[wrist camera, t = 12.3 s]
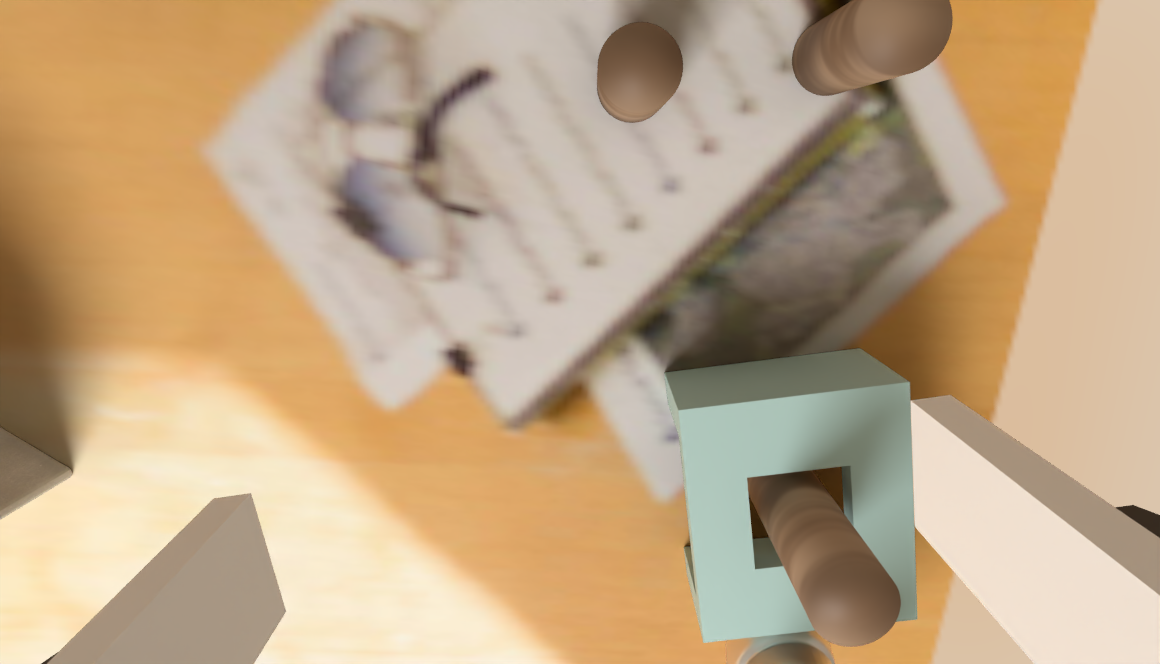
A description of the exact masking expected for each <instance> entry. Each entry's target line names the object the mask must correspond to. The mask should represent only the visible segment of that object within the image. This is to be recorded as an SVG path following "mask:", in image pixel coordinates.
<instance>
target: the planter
mask: <svg viewBox="0 0 1160 664" xmlns="http://www.w3.org/2000/svg"><path fill="white" fill-rule="evenodd" d="M71 475H72V471H71V469H70V468H69V467H67V466H65V465H64V464H62V463H60V462H58V461H56V460H55V459H53V458H51V457H50V456H48V455H46V454H45V453H43V452H41V451H40V450H38V449H36V448H35V447H33V446H31V445H30V444H28V443H26V442H24V441H23V440H21V439H19V438H18V437H16V436H14V435H13V434H11V433H9V432H8V431H6V430H4V429H3V428H1V427H0V520H1V519H2V518H4V517H5V516H7V515H9V514H10V513H12V512H14V511H15V510H17V509H19V508H20V507H22V506H24V505H25V504H27V503H29V502H30V501H32V500H34V499H35V498H37V497H39V496H40V495H42V494H43V493H45V492H47V491H48V490H50V489H52V488H53V487H55V486H57V485H58V484H60V483H62V482H63V481H65V480H67V479H68V478H70V477H71Z"/></svg>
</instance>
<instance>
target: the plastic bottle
mask: <svg viewBox="0 0 1160 664" xmlns="http://www.w3.org/2000/svg"><path fill="white" fill-rule="evenodd" d="M726 664H835V661H834V657H833V653H832V650H831V646H830V643H829V641H827V640H825V639H824V638H822V637H821V636H820V635H819V634H818V633H817V632H816V631H806V632H797V633H788V634H779V635H770V636H760V637H751V638H742V639H733V640H726Z"/></svg>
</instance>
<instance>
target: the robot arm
mask: <svg viewBox="0 0 1160 664" xmlns="http://www.w3.org/2000/svg"><path fill="white" fill-rule="evenodd" d="M911 428H912V457H913V487H914V517H915V527H916V529H917V530H918V531H919V532H920V533H921V534H922V535H923V537H924V538H925V539H926V540H927V541H928V542H929V543H930V545H931V546H932V547H933V548H934V549H935V550H936V551H937V553H938V554H939V555H940V556H941V557H942V558H943V559H944V561H945V562H946V563H947V564H948V565H949V566H950V567H951V569H952V570H953V571H954V572H955V573H956V574H957V576H958V577H959V578H960V579H961V580H962V581H963V582H964V584H965V585H966V586H967V587H968V588H969V589H970V590H971V591H972V593H973V594H974V595H975V596H976V597H977V598H978V599H979V601H980V602H981V603H982V604H983V605H984V606H985V608H986V609H987V610H988V611H989V612H990V613H991V614H992V616H993V617H994V618H995V619H996V620H997V621H998V622H999V623H1000V625H1001V626H1002V627H1003V628H1004V629H1005V630H1006V632H1007V633H1008V634H1009V635H1010V636H1011V637H1012V638H1013V640H1014V641H1015V642H1016V643H1017V644H1018V645H1019V647H1020V648H1021V649H1022V650H1023V651H1024V652H1025V653H1026V655H1027V656H1028V657H1029V658H1030V659H1031V660H1032V661H1033V663H1034V664H1160V515H1158V514H1155V513H1152V512H1150V511H1147V510H1145V509H1142V508H1139V507H1137V506H1134V505H1131V506H1123V507H1116V508H1115V507H1113V506H1112V505H1111V504H1109V503H1108V502H1106V501H1105V500H1103V499H1102V498H1100V497H1099V496H1097V495H1096V494H1095V493H1093V492H1092V491H1090V490H1089V489H1087V488H1086V487H1084V486H1083V485H1081V484H1080V483H1078V482H1077V481H1076V480H1074V479H1073V478H1071V477H1070V476H1068V475H1067V474H1065V473H1064V472H1062V471H1061V470H1059V469H1058V468H1057V467H1055V466H1054V465H1052V464H1051V463H1049V462H1048V461H1046V460H1045V459H1043V458H1042V457H1040V456H1039V455H1038V454H1036V453H1035V452H1033V451H1032V450H1030V449H1029V448H1027V447H1026V446H1024V445H1023V444H1021V443H1020V442H1019V441H1017V440H1016V439H1014V438H1013V437H1011V436H1010V435H1008V434H1007V433H1005V432H1004V431H1002V430H1001V429H999V428H998V427H997V426H995V425H994V424H992V423H991V422H989V421H988V420H986V419H985V418H984V417H982V416H981V415H979V414H978V413H976V412H975V411H973V410H972V409H970V408H969V407H967V406H966V405H965V404H963V403H962V402H960V401H959V400H957V399H956V398H954V397H953V396H951V395H946V396H939V397H932V398H924V399H917V400H911ZM285 612H286V610H285V607H284V603H283V600H282V597H281V593H280V590H279V586H278V583H277V580H276V576H275V573H274V570H273V566H272V563H271V559H270V556H269V553H268V549H267V546H266V543H265V539H264V536H263V532H262V529H261V526H260V522H259V519H258V516H257V512H256V509H255V505H254V502H253V499H252V495H251V493H250V494H243V495H236V496H229V497H222V498H215V499H213V500H212V501H211V502H210V503H209V504H208V505H207V506H206V507H205V508H204V509H203V510H202V511H201V512H200V513H199V514H198V515H197V516H196V517H195V518H194V519H193V520H192V521H191V522H190V523H189V524H188V525H187V526H186V527H185V528H184V529H183V530H182V531H181V532H180V533H178V534H177V535H176V536H175V537H174V538H173V539H172V540H171V541H170V542H169V543H168V544H167V545H166V546H165V547H164V548H163V549H162V550H161V551H160V552H159V553H158V554H157V555H156V556H155V557H154V558H153V559H152V560H151V561H150V562H149V563H148V564H147V565H146V566H145V567H144V568H143V569H142V570H141V571H140V572H139V573H138V574H137V575H136V576H135V577H134V578H133V579H132V580H131V581H130V582H129V583H128V584H127V585H126V586H125V587H124V588H123V589H122V590H121V591H120V592H119V593H118V594H117V595H116V596H115V597H114V598H113V599H112V600H111V601H110V602H109V603H108V604H107V605H106V606H105V607H104V608H103V609H102V610H101V611H100V612H99V613H98V614H97V615H96V616H95V617H94V618H93V619H92V620H91V621H90V622H89V623H87V624H86V625H85V626H84V627H83V628H82V629H81V630H80V631H79V632H78V633H77V634H76V635H75V636H74V637H73V638H72V639H71V640H70V641H69V642H68V643H67V644H66V645H65V646H64V647H63V648H62V649H61V650H60V651H59V652H58V653H56V654H55V655H53V656H52V657H50V658H49V659H47V660H46V661H45V662H43V663H42V664H254V662H255V661H256V659H257V657H258V656H259V654H260V653H261V651H262V649H263V648H264V646H265V644H266V643H267V641H268V640H269V638H270V636H271V635H272V633H273V632H274V630H275V628H276V627H277V625H278V623H279V622H280V620H281V619H282V617H283V615H284V614H285Z"/></svg>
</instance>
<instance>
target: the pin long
mask: <svg viewBox="0 0 1160 664" xmlns="http://www.w3.org/2000/svg"><path fill="white" fill-rule="evenodd" d="M747 483H748V494H749V496H750V499H751V501H752V503H753V505H754V507H755V509H756V511H757V513H758V515H759V517H760V519H761V521H762V523H763V525H764V527H765V529H766V532H767V534H768V536H769V538H770V540H771V542H772V544H773V546H774V548H775V550H776V552H777V554H778V556H779V558H780V560H781V562H782V564H783V567H784V569H785V571H786V573H787V575H788V577H789V579H790V581H791V583H792V585H793V587H794V589H795V591H796V593H797V595H798V597H799V599H800V602H801V604H802V606H803V608H804V610H805V612H806V614H807V616H808V618H809V620H810V622H811V624H812V626H813V628H814V629H815V631H816V632H817V633H818V634H819V635H820V636H821V637H822V638H824V639H825V640H827V641H829V642H831V643H833V644H836V645H840V646H847V647H855V646H862V645H866V644H869V643H871V642H874V641H876V640H878V639H879V638H881V637H882V636H884V635H885V634H886V633H887V632H888V631H889V630H890V629H891V628H892V627H893V625H894V624H895V622H896V620H897V618H898V615H899V612H900V607H901V598H900V593H899V590H898V588H897V586H896V584H895V583H894V581H893V580H892V578H891V577H890V576H889V574H888V573H887V571H886V570H885V569H884V567H883V566H882V565H881V563H880V562H879V561H878V559H877V558H876V556H875V555H874V554H873V552H872V551H871V550H870V548H869V547H868V546H867V544H866V543H865V541H864V540H863V539H862V537H861V536H860V535H859V533H858V532H857V531H856V529H855V528H854V526H853V525H852V524H851V522H850V521H849V520H848V518H847V517H846V516H845V514H844V513H843V511H842V510H841V509H840V507H839V506H838V505H837V503H836V502H835V500H834V499H833V498H832V496H831V495H830V494H829V492H828V491H827V490H826V488H825V487H824V485H823V484H822V483H821V481H820V480H819V479H818V477H817V476H816V475H815V473H814V472H813V470H808V471H800V472H791V473H783V474H774V475H766V476H758V477H749V478H747Z"/></svg>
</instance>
